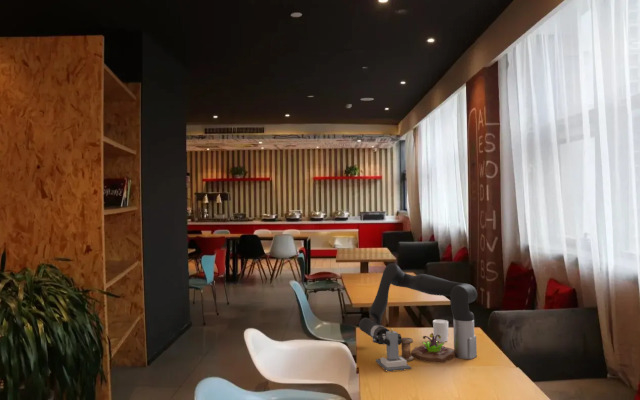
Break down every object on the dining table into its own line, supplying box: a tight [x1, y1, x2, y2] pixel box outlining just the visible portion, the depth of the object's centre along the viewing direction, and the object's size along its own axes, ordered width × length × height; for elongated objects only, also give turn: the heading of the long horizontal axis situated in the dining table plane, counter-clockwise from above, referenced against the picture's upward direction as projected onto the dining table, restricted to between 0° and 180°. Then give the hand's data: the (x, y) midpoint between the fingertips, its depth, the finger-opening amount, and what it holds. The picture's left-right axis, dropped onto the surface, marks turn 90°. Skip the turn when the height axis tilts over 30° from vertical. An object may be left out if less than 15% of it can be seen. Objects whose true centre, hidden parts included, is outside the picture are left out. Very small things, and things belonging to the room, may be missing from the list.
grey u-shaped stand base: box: [375, 355, 412, 372], centre depth 210 cm, size 14×11×3 cm
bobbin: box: [400, 337, 414, 362], centre depth 220 cm, size 10×6×9 cm, turn 43°
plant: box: [410, 332, 456, 364], centre depth 224 cm, size 20×20×11 cm
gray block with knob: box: [385, 328, 400, 359], centre depth 211 cm, size 4×4×13 cm
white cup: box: [432, 319, 449, 343], centre depth 248 cm, size 8×8×10 cm
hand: (394, 342), depth 208 cm, fingers open, 4 cm apart
